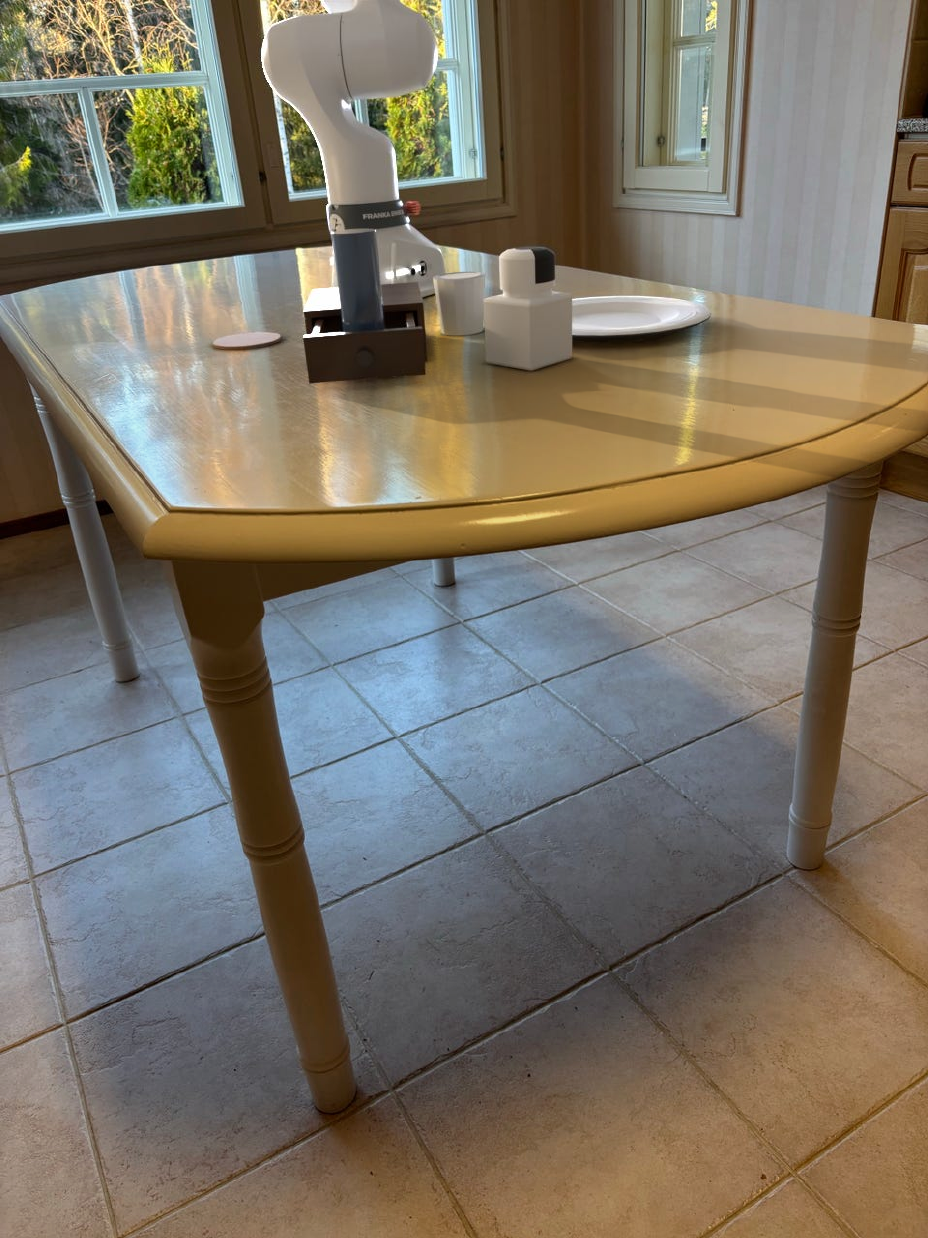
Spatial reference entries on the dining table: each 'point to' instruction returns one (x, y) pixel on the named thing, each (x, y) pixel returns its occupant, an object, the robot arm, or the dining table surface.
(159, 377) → the dining table surface
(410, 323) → the drawer
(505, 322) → the medicine bottle
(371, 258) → the cylinder
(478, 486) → the dining table surface
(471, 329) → the white cup
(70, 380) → the dining table surface
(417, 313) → the cabinet
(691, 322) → the plate
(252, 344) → the coaster
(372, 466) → the dining table surface
